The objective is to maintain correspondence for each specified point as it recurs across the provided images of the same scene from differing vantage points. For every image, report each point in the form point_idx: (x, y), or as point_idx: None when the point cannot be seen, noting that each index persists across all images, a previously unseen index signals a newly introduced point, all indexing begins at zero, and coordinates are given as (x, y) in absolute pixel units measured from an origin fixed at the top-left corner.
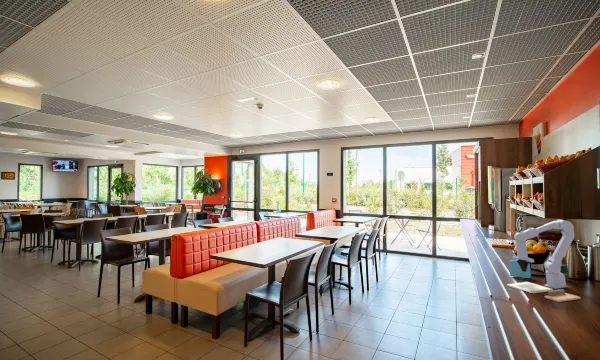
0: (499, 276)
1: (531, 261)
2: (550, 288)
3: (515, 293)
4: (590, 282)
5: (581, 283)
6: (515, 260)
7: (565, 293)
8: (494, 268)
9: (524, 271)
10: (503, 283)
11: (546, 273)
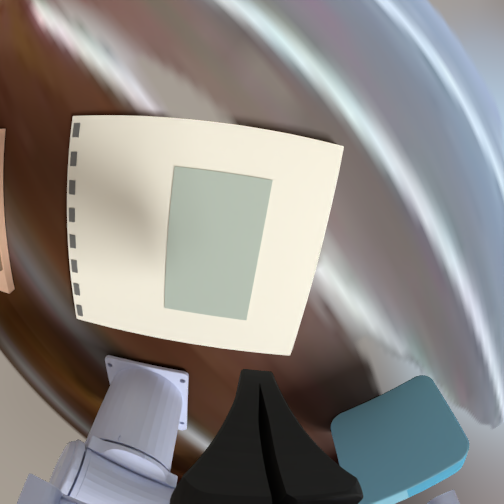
0: (471, 331)
1: (24, 487)
2: (89, 320)
3: (145, 20)
4: None
5: None
6: (435, 481)
7: (1, 280)
8: (497, 399)
9: (240, 376)
10: (398, 199)
11: (136, 444)
